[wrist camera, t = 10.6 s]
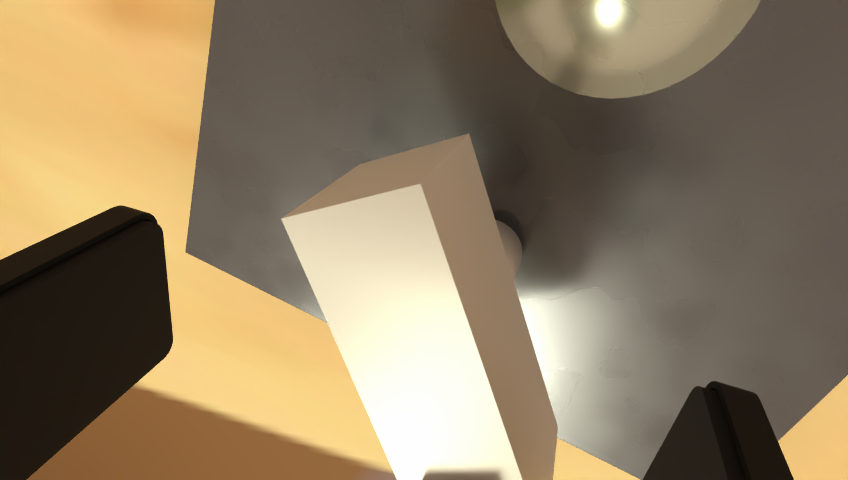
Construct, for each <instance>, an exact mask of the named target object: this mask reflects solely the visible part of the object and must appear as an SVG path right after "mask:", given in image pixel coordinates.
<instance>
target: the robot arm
mask: <svg viewBox="0 0 848 480" xmlns="http://www.w3.org/2000/svg"><path fill="white" fill-rule="evenodd" d="M172 343H173V334H172V323H171V312H170V302H169V291H168V281H167V270H166V259H165V249H164V238H163V231H162V228H161V227H160V226H159V225H158V224H157V220H156V219H155V217H154V216H153V215H151V214H150V213H146V212H143V211H139V210H136V209H133V208H129V207H126V206H116V207H113V208H111V209H109V210H106V211H104V212H102V213H100V214H98V215H96V216H94V217H91V218H89V219H87V220H85V221H83V222H81V223H79V224H76V225H74V226H72V227H70V228H68V229H66V230H64V231H61V232H59V233H57V234H55V235H53V236H51V237H49V238H46V239H44V240H42V241H40V242H38V243H36V244H34V245H31V246H29V247H27V248H25V249H23V250H21V251H19V252H16V253H14V254H12V255H10V256H8V257H6V258H4V259H1V260H0V480H26V479H28V478H29V477H30V476H31V475H32V474H33V473H34V472H35V471H37V470H38V469H39V468H40V467H41V466H42V465H43V464H44V463H46V462H47V461H48V460H49V459H50V458H51V457H53V456H54V455H55V454H56V453H57V452H58V451H59V450H60V449H61V448H63V447H64V446H65V445H66V444H67V443H68V442H70V441H71V440H72V439H73V438H74V437H75V436H76V435H77V434H79V433H80V432H81V431H82V430H83V429H84V428H85V427H87V425H89V424H90V423H91V422H92V421H93V420H94V419H96V418H97V417H98V416H99V415H100V414H101V413H102V412H104V411H105V410H106V409H107V408H108V407H109V406H110V405H111V404H113V403H114V402H115V401H116V400H117V399H118V398H119V397H121V396H122V395H123V394H124V393H125V392H126V391H127V390H129V389H130V388H131V387H132V386H133V385H134V384H135V383H137V382H138V381H139V380H140V379H141V378H142V377H143V376H145V375H146V374H147V373H148V372H149V371H150V370H151V369H153V368H154V367H155V366H156V365H157V364H158V363H159V362H160V361H162V360H163V359H164V358H165V357H166V356H167V354H168V353H169V351H170V349H171V347H172ZM643 480H794V479H793V477H792V474H791V472H790V469H789V467H788V465H787V462H786V460H785V458H784V455H783V453H782V450H781V448H780V446H779V443H778V441H777V439H776V436H775V434H774V431H773V429H772V427H771V424H770V422H769V419H768V417H767V415H766V412H765V410H764V408H763V405H762V403H761V400H760V399H759V397H758V395H757V394H755V393H754V392H751V391H748V390H744V389H741V388H738V387H734V386H731V385H727V384H724V383H721V382H717V381H711V382H710V383H709V384H707V386H706V387H705V388H704V387H700V386H696V387H694V388H693V389H692V391H691V392H690V394H689V396H688V398H687V399H686V401H685V403H684V405H683V407H682V409H681V410H680V412H679V414H678V416H677V418H676V420H675V421H674V423H673V425H672V427H671V429H670V430H669V432H668V434H667V436H666V438H665V440H664V441H663V443H662V445H661V447H660V449H659V451H658V452H657V454H656V456H655V458H654V460H653V461H652V463H651V465H650V467H649V469H648V471H647V472H646V474H645V476H644V478H643Z"/></svg>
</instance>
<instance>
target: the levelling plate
mask: <svg viewBox="0 0 848 480" xmlns="http://www.w3.org/2000/svg"><path fill="white" fill-rule="evenodd" d="M465 134H469V135H470V138H471V142H472V145H473V148H474V152H475V155H476V158H477V161H478V165H479V168H480V171H481V175H482V178H483V181H484V185H485V188H486V191H487V194H488V198H489V201H490V204H491V208H492V211H493V214H494V218H495V220H498V221H501V222H503V223H505V224H506V225H508V226H509V227H510V228H511V229H512V230H513V231H514V232H515V233H516V234H517V236H518V238H519V239H520V242H521V245H522V259H521V263H520V266H519V270H518V273H517V276H516V279H515V283H514V284H515V287H516V290H517V293H518V297H519V300H520V303H521V307H522V310H523V313H524V317H525V320H526V323H527V327H528V330H529V333H530V336H531V340H532V343H533V346H534V350H535V353H536V356H537V360H538V363H539V366H540V369H541V373H542V376H543V379H544V383H545V386H546V389H547V393H548V396H549V399H550V402H551V406H552V409H553V412H554V416H555V419H556V422H557V426H558V432H557V438H559V439H561V440H563V441H565V442H567V443H569V444H571V445H573V446H575V447H577V448H579V449H581V450H583V451H585V452H587V453H589V454H591V455H593V456H595V457H597V458H599V459H601V460H603V461H605V462H607V463H609V464H611V465H613V466H615V467H617V468H619V469H621V470H623V471H625V472H627V473H629V474H631V475H633V476H635V477H637V478H639V479H641V480H643V478H644V476H645V474H646V472H647V471H648V469H649V467H650V465H651V463H652V461H653V460H654V458H655V456H656V454H657V452H658V451H659V449H660V447H661V445H662V443H663V441H664V440H665V438H666V436H667V434H668V432H669V430H670V429H671V427H672V425H673V423H674V421H675V420H676V418H677V416H678V414H679V412H680V410H681V409H682V407H683V405H684V403H685V401H686V399H687V398H688V396H689V394H690V392H691V391H692V389H693V388H694V387H696V386H700V387H704V388H705V387H706V386H707V384H709V383H710V382H711V381H717V382H721V383H724V384H727V385H731V386H734V387H738V388H741V389H744V390H748V391H751V392H754V393H755V394H757V395H758V397H759V399H760V400H761V403H762V405H763V408H764V410H765V412H766V415H767V417H768V419H769V422H770V424H771V427H772V429H773V431H774V434H775V436H776V439H777V441H778V440H779V439H780V438H782V437H783V436H784V435H785V434H786V433H787V432H788V431H789V430H790V429H791V428H792V427H793V426H794V425H795V424H796V423H797V422H798V421H799V420H801V419H802V418H803V417H804V416H805V415H806V414H807V413H808V412H809V411H810V410H811V409H812V408H813V407H814V406H815V405H816V404H817V403H819V402H820V401H821V400H822V399H823V398H824V397H825V396H826V395H827V394H828V393H829V392H830V391H831V390H832V389H833V388H834V387H835V386H836V385H838V384H839V383H840V382H841V381H842V380H843V379H844V378H845V377H846V376H847V375H848V0H215V7H214V15H213V24H212V32H211V41H210V49H209V57H208V66H207V74H206V83H205V91H204V100H203V108H202V117H201V125H200V134H199V142H198V151H197V159H196V168H195V176H194V185H193V193H192V201H191V210H190V218H189V227H188V235H187V244H186V253H188V254H190V255H192V256H194V257H196V258H198V259H200V260H202V261H204V262H206V263H208V264H210V265H212V266H214V267H216V268H218V269H220V270H222V271H224V272H226V273H228V274H230V275H232V276H234V277H236V278H238V279H240V280H242V281H244V282H246V283H248V284H250V285H252V286H254V287H256V288H258V289H260V290H262V291H264V292H266V293H268V294H270V295H272V296H274V297H276V298H278V299H280V300H282V301H284V302H286V303H288V304H290V305H292V306H294V307H296V308H298V309H300V310H302V311H304V312H306V313H308V314H310V315H312V316H314V317H316V318H318V319H320V320H322V321H324V322H326V323H327V321H326V319H325V316H324V314H323V312H322V310H321V307H320V305H319V303H318V301H317V298H316V296H315V294H314V292H313V289H312V287H311V285H310V283H309V280H308V278H307V276H306V274H305V271H304V269H303V267H302V265H301V262H300V260H299V258H298V256H297V253H296V251H295V249H294V247H293V244H292V242H291V240H290V238H289V235H288V233H287V231H286V229H285V226H284V224H283V222H282V220H281V218H283V217H284V216H286V215H287V214H288V213H290V212H291V211H293V210H294V209H296V208H297V207H299V206H300V205H301V204H303V203H304V202H306V201H307V200H309V199H310V198H311V197H313V196H314V195H316V194H317V193H319V192H320V191H322V190H323V189H324V188H326V187H327V186H329V185H330V184H332V183H333V182H335V181H336V180H337V179H339V178H340V177H342V176H343V175H345V174H346V173H348V172H349V171H350V170H352V169H353V168H355V167H356V166H358V165H359V164H362V163H366V162H369V161H373V160H376V159H380V158H384V157H387V156H391V155H394V154H398V153H401V152H405V151H408V150H412V149H415V148H419V147H423V146H426V145H430V144H433V143H437V142H440V141H444V140H447V139H451V138H454V137H458V136H462V135H465Z"/></svg>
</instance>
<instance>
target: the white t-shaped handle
mask: <svg viewBox="0 0 848 480" xmlns="http://www.w3.org/2000/svg"><path fill="white" fill-rule="evenodd" d="M281 220H282V222H283V224H284V226H285V229H286V231H287V233H288V235H289V238H290V240H291V242H292V244H293V247H294V249H295V251H296V253H297V256H298V258H299V260H300V262H301V265H302V267H303V269H304V271H305V274H306V276H307V278H308V280H309V283H310V285H311V287H312V289H313V292H314V294H315V296H316V298H317V301H318V303H319V305H320V307H321V310H322V312H323V314H324V316H325V319H326V321H327V323H328V325H329V328H330V330H331V332H332V334H333V337H334V339H335V341H336V343H337V346H338V348H339V350H340V352H341V355H342V357H343V359H344V361H345V364H346V366H347V368H348V370H349V373H350V375H351V377H352V379H353V382H354V384H355V386H356V388H357V391H358V393H359V395H360V397H361V400H362V402H363V404H364V406H365V409H366V411H367V413H368V415H369V418H370V420H371V422H372V424H373V427H374V429H375V431H376V433H377V436H378V438H379V440H380V442H381V445H382V447H383V449H384V451H385V454H386V456H387V458H388V460H389V463H390V465H391V467H392V469H393V472H394V474H395V476H396V478H397V480H553V472H554V462H555V452H556V442H557V432H558V426H557V422H556V419H555V416H554V412H553V409H552V406H551V402H550V399H549V396H548V393H547V389H546V386H545V383H544V379H543V376H542V373H541V369H540V366H539V363H538V360H537V356H536V353H535V350H534V346H533V343H532V340H531V336H530V333H529V330H528V327H527V323H526V320H525V317H524V313H523V310H522V307H521V303H520V300H519V297H518V293H517V290H516V287H515V284H514V283H515V279H516V276H517V273H518V270H519V266H520V263H521V259H522V245H521V242H520V239H519V238H518V236H517V234H516V233H515V232H514V231H513V230H512V229H511V228H510V227H509V226H508V225H506V224H505V223H503V222H501V221H498V220H495V218H494V214H493V211H492V208H491V204H490V201H489V198H488V194H487V191H486V188H485V185H484V181H483V178H482V175H481V171H480V168H479V165H478V161H477V158H476V155H475V152H474V148H473V145H472V142H471V138H470V135H469V134H465V135H462V136H458V137H454V138H451V139H447V140H444V141H440V142H437V143H433V144H430V145H426V146H423V147H419V148H415V149H412V150H408V151H405V152H401V153H398V154H394V155H391V156H387V157H384V158H380V159H376V160H373V161H369V162H366V163H362V164H359V165H358V166H356V167H355V168H353V169H352V170H350V171H349V172H348V173H346V174H345V175H343V176H342V177H340V178H339V179H337V180H336V181H335V182H333V183H332V184H330V185H329V186H327V187H326V188H324V189H323V190H322V191H320V192H319V193H317V194H316V195H314V196H313V197H311V198H310V199H309V200H307V201H306V202H304V203H303V204H301V205H300V206H299V207H297V208H296V209H294V210H293V211H291V212H290V213H288V214H287V215H286V216H284V217H283V218H281Z"/></svg>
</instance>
